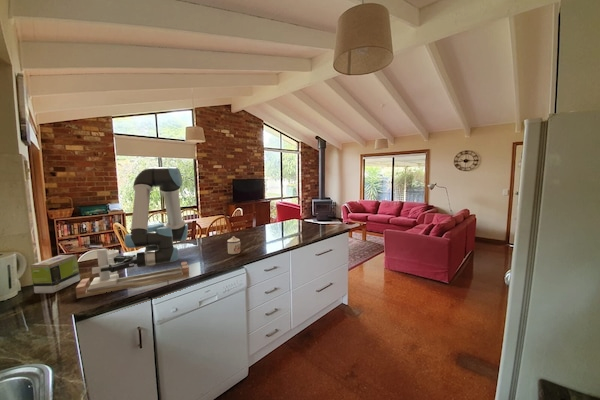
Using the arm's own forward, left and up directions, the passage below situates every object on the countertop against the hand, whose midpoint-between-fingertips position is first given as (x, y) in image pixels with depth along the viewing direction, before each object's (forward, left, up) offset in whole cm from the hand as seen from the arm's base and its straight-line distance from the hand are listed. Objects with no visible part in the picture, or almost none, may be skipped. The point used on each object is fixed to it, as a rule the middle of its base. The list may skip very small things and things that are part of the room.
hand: (95, 266), depth 125 cm
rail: (0, +17, -12) cm, 21 cm away
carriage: (0, +3, -9) cm, 10 cm away
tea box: (-16, -19, -12) cm, 28 cm away
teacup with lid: (-25, +75, -12) cm, 80 cm away
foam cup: (-22, +2, -12) cm, 25 cm away
